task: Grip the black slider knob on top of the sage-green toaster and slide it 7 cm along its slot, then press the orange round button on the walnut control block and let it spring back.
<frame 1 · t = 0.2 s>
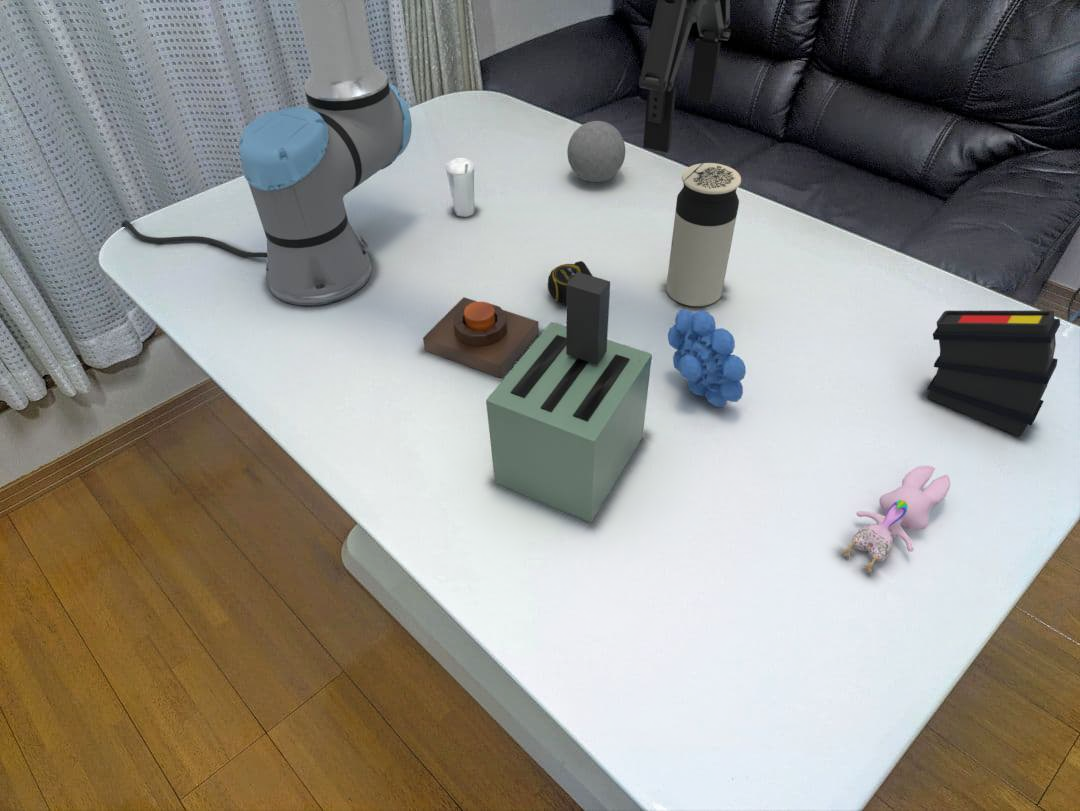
hand: (679, 123, 82), 28 cm above the table, tool pointing down, fingers open, 13 cm apart
grapes: (693, 398, 91), on the table
slider: (587, 319, 74), point 18 cm above the table, slide at 0.0 cm
rabbit figure: (893, 526, 77), on the table
decorative ball: (595, 179, 130), on the table
milkshake: (466, 214, 123), on the table
toaster: (570, 458, 84), on the table
travel mug: (693, 292, 106), on the table
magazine: (965, 407, 89), on the table
button block: (482, 342, 99), on the table
button: (479, 315, 96), point 4 cm above the table, slide at 0.1 cm
tape measure: (575, 294, 107), on the table
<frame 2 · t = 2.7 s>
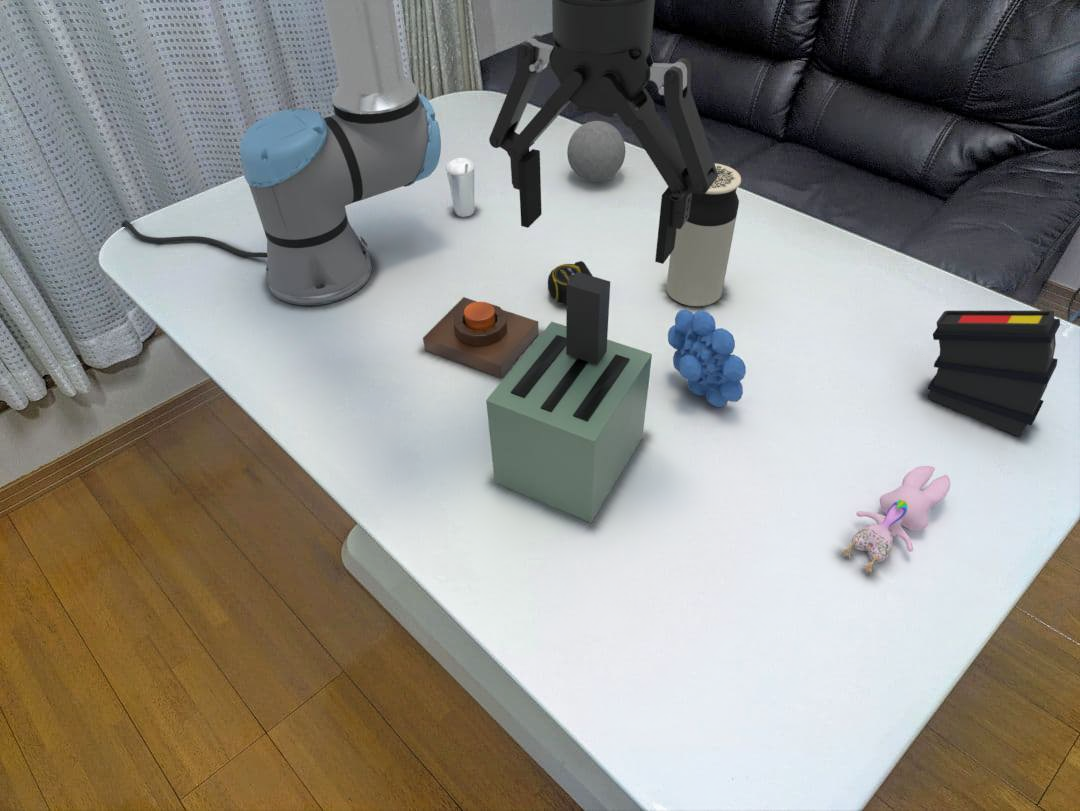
hand: (595, 237, 68), 27 cm above the table, tool pointing down, fingers open, 13 cm apart
nothing on the table moved.
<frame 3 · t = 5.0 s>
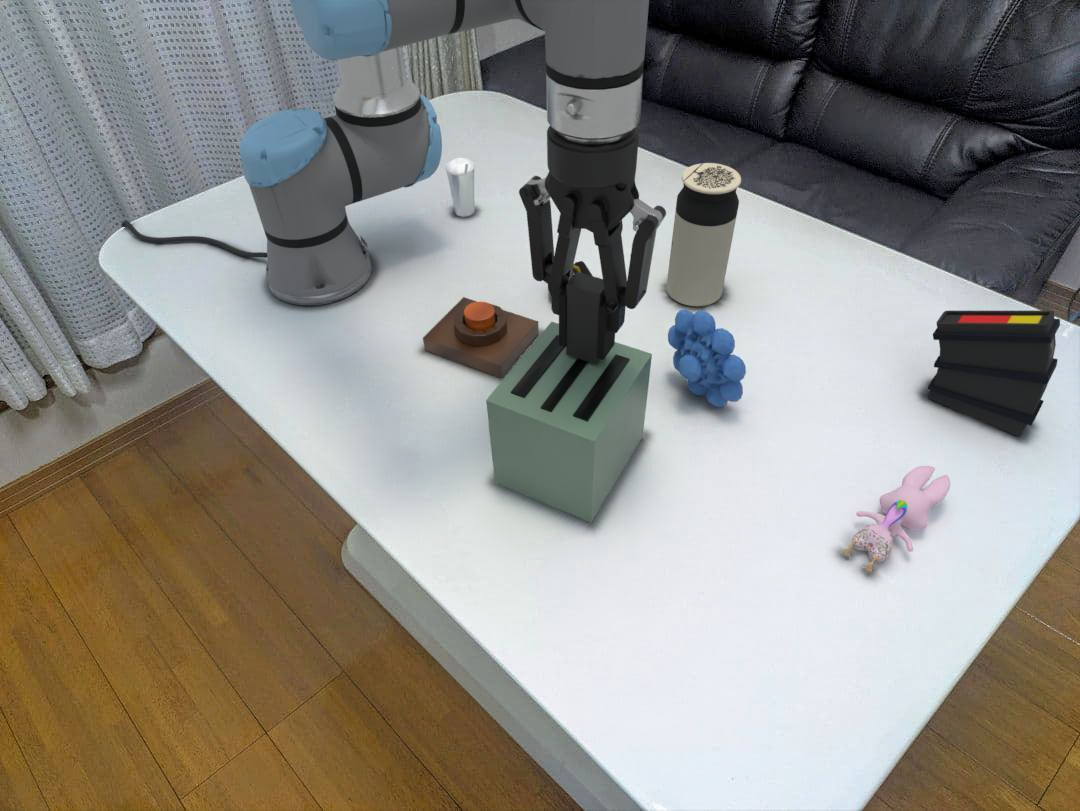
hand: (586, 344, 76), 15 cm above the table, tool pointing down, fingers closed on slider, 4 cm apart
slider: (587, 319, 74), point 18 cm above the table, slide at 0.0 cm, touching gripper
everything else where it was.
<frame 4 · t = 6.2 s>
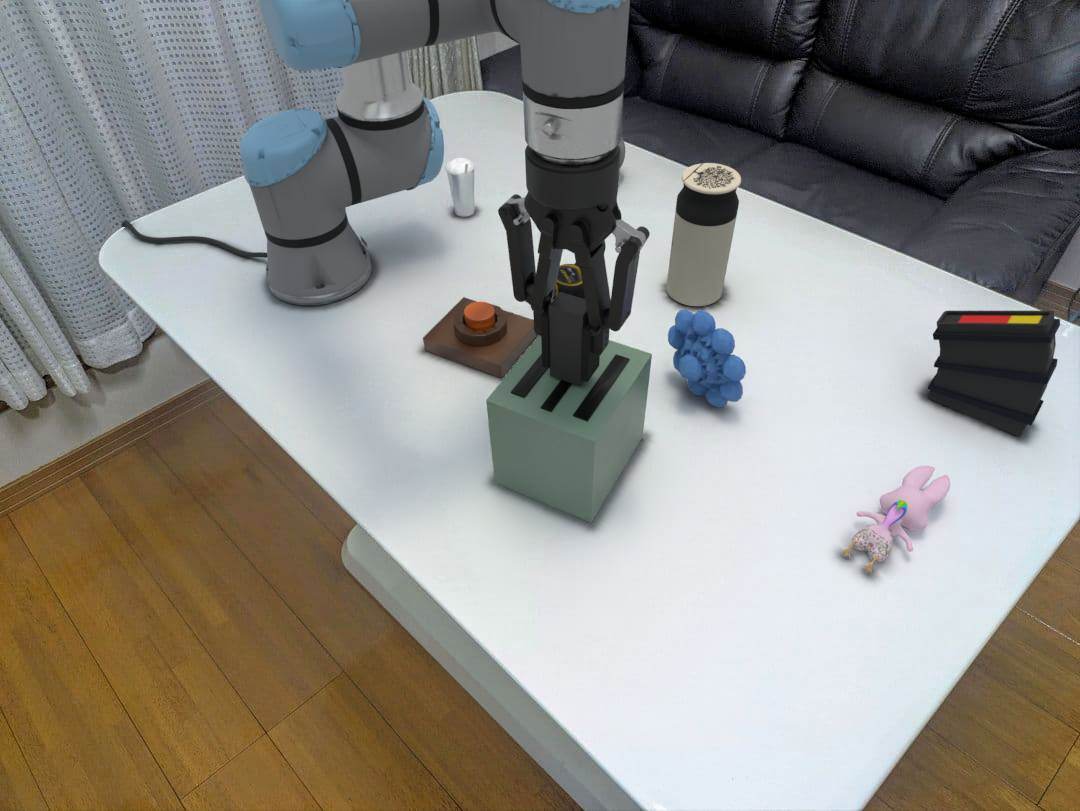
hand: (570, 365, 74), 15 cm above the table, tool pointing down, fingers closed on slider, 4 cm apart
slider: (570, 340, 71), point 18 cm above the table, slide at 3.7 cm, touching gripper
everything else where it was.
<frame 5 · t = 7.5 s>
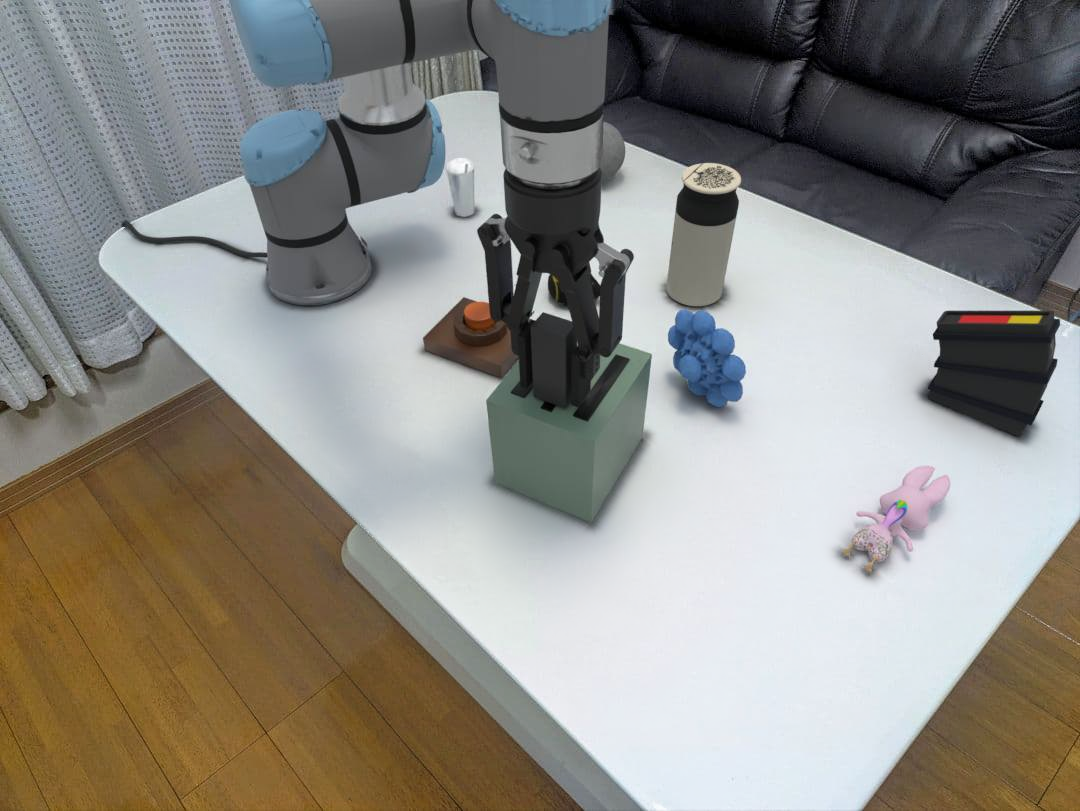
hand: (555, 387, 72), 14 cm above the table, tool pointing down, fingers open, 5 cm apart
slider: (554, 361, 69), point 18 cm above the table, slide at 7.1 cm
everything else where it was.
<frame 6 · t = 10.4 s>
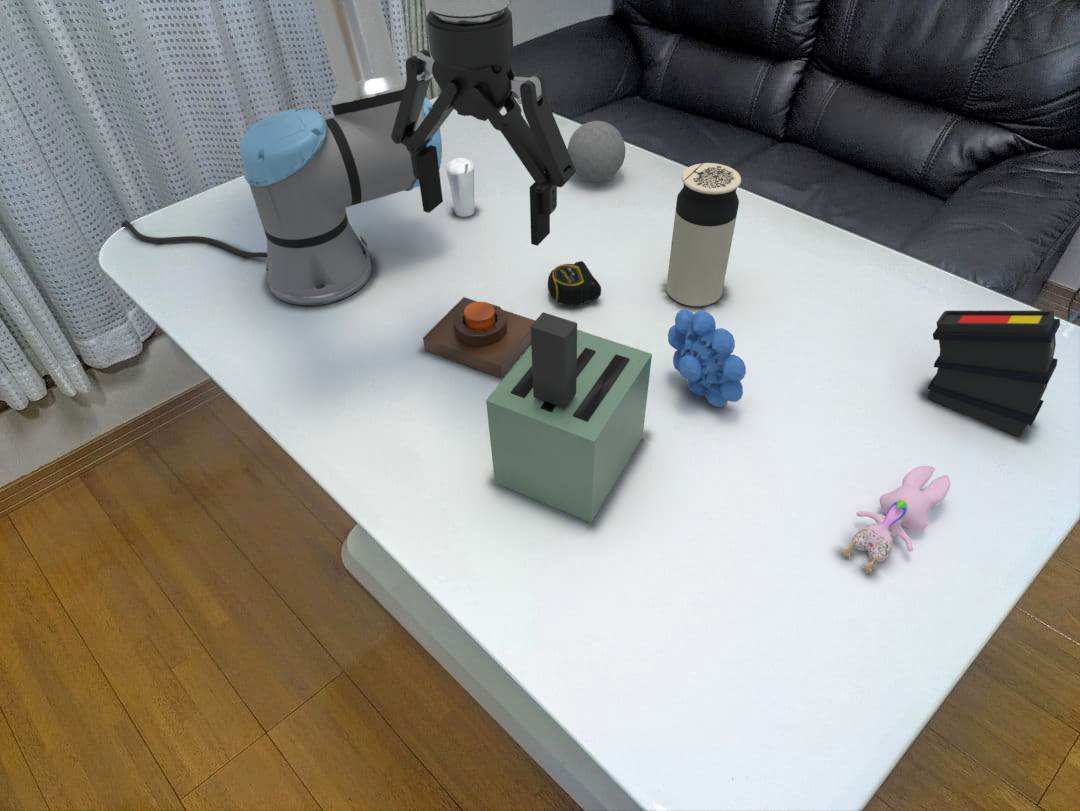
hand: (485, 222, 79), 22 cm above the table, tool pointing down, fingers open, 13 cm apart
nothing on the table moved.
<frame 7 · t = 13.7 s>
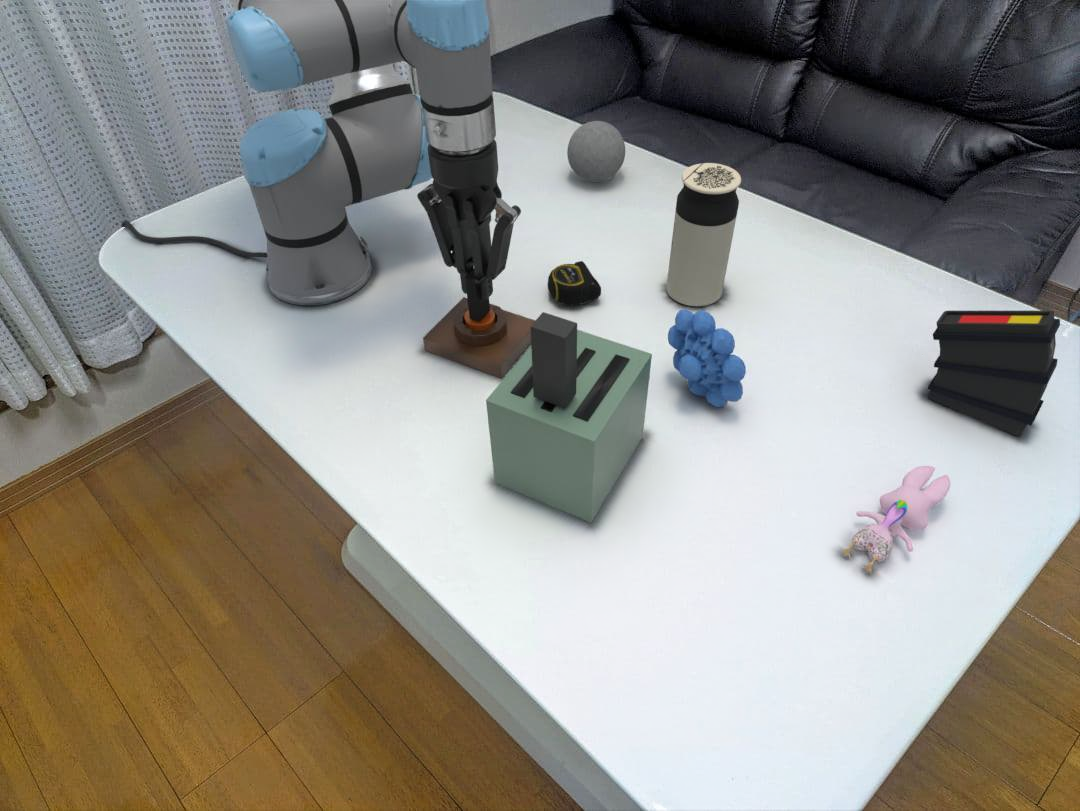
hand: (480, 314, 96), 5 cm above the table, tool pointing down, fingers closed
button: (480, 320, 97), point 4 cm above the table, slide at -0.7 cm, touching gripper
everything else where it was.
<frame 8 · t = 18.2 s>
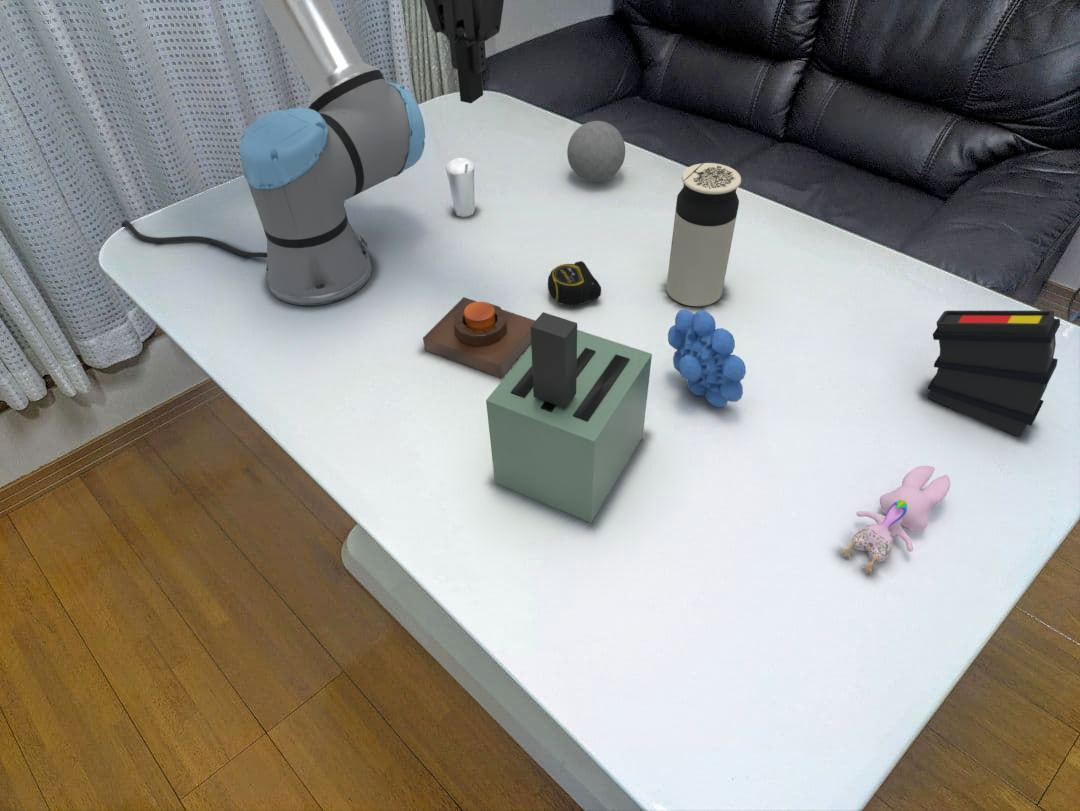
hand: (472, 97, 87), 28 cm above the table, tool pointing down, fingers closed
button: (479, 315, 96), point 4 cm above the table, slide at 0.1 cm
everything else where it was.
at the end: slider slide at 7.1 cm; button pushed in 1.0 cm at the most during the clip, back to where it started at the end; button slide at 0.1 cm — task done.
